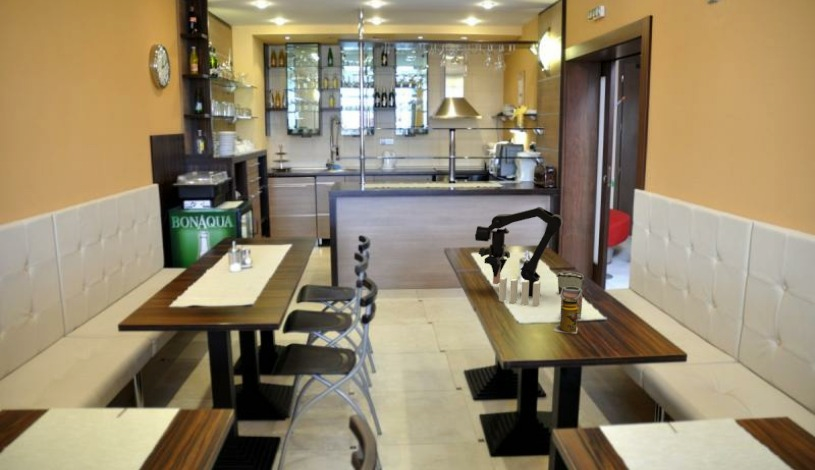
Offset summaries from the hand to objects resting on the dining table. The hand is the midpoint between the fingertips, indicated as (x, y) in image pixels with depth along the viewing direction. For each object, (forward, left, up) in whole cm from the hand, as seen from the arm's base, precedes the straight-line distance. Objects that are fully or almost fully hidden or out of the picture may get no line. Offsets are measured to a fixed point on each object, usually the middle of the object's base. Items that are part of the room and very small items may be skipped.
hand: (496, 275), depth 285 cm
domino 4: (-17, +12, -8) cm, 22 cm away
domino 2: (-7, +12, -8) cm, 16 cm away
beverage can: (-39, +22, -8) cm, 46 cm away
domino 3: (-12, +12, -8) cm, 19 cm away
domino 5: (-22, +12, -8) cm, 26 cm away
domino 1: (0, 0, -4) cm, 4 cm away
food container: (-31, -13, -8) cm, 35 cm away
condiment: (-41, +38, -8) cm, 57 cm away
